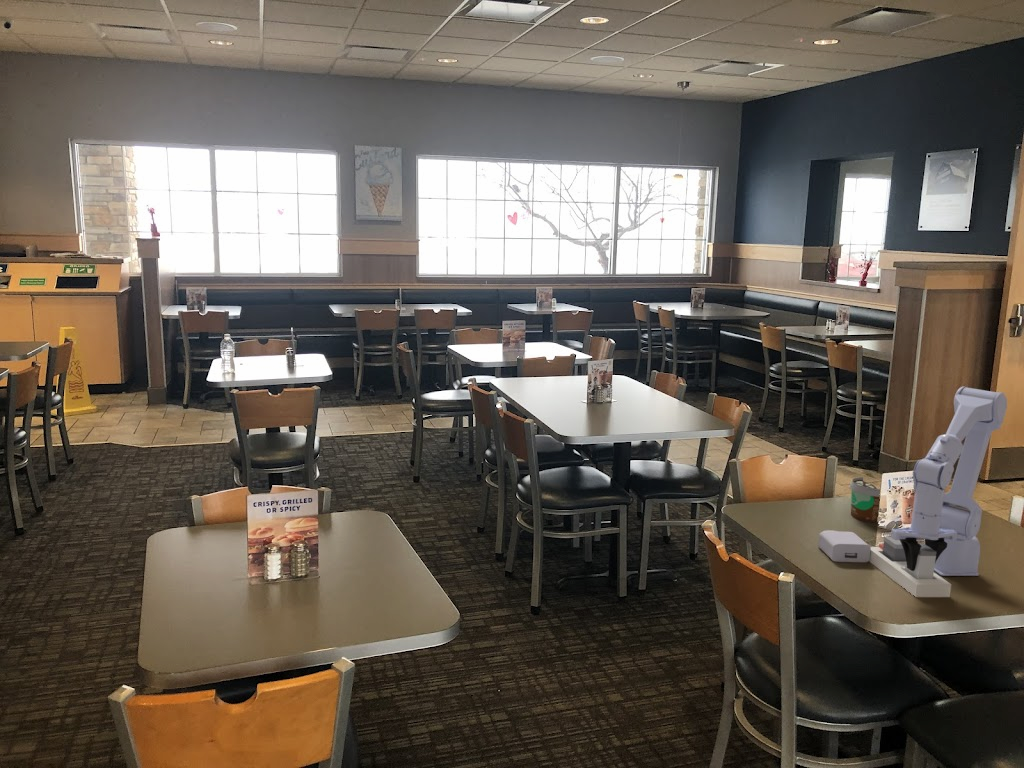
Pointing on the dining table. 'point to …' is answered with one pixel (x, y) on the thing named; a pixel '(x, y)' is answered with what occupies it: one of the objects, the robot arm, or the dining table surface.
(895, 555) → the charcoal plug
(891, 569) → the power strip
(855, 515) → the food container
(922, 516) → the robot arm
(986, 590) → the dining table surface
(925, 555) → the grey plug
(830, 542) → the charger
